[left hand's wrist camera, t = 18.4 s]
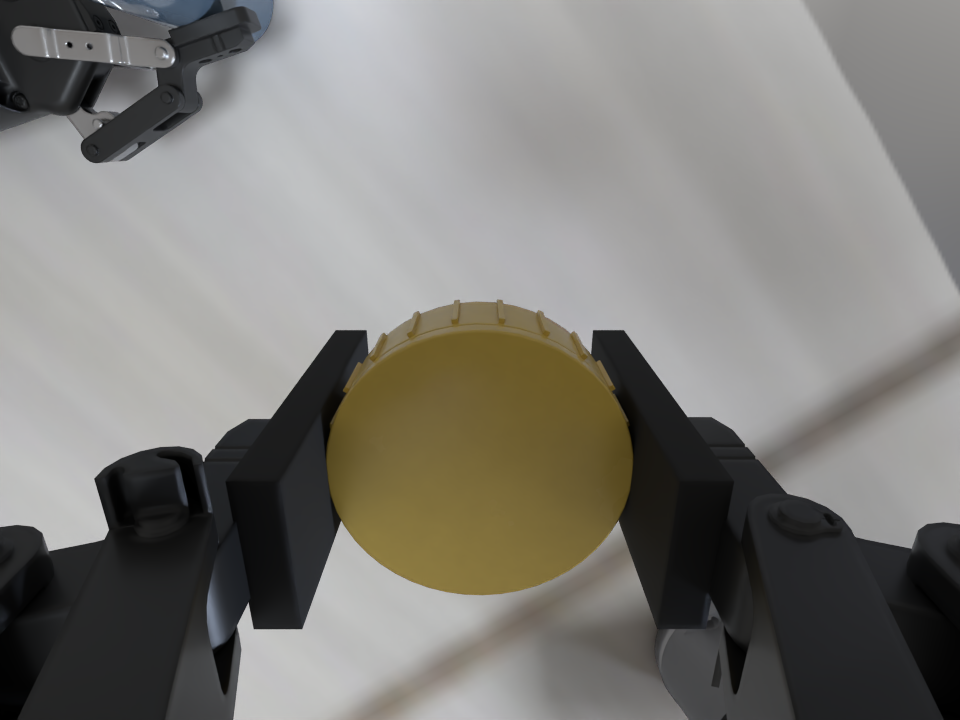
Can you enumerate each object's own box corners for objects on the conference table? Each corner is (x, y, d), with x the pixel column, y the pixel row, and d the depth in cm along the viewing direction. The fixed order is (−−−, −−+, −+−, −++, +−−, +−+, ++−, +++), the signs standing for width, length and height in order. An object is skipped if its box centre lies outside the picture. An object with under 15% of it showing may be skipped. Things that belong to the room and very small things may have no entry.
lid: (376, 554, 13) (362, 614, 12) (312, 319, 11) (283, 352, 9) (623, 524, 13) (644, 581, 11) (605, 276, 11) (628, 302, 9)
